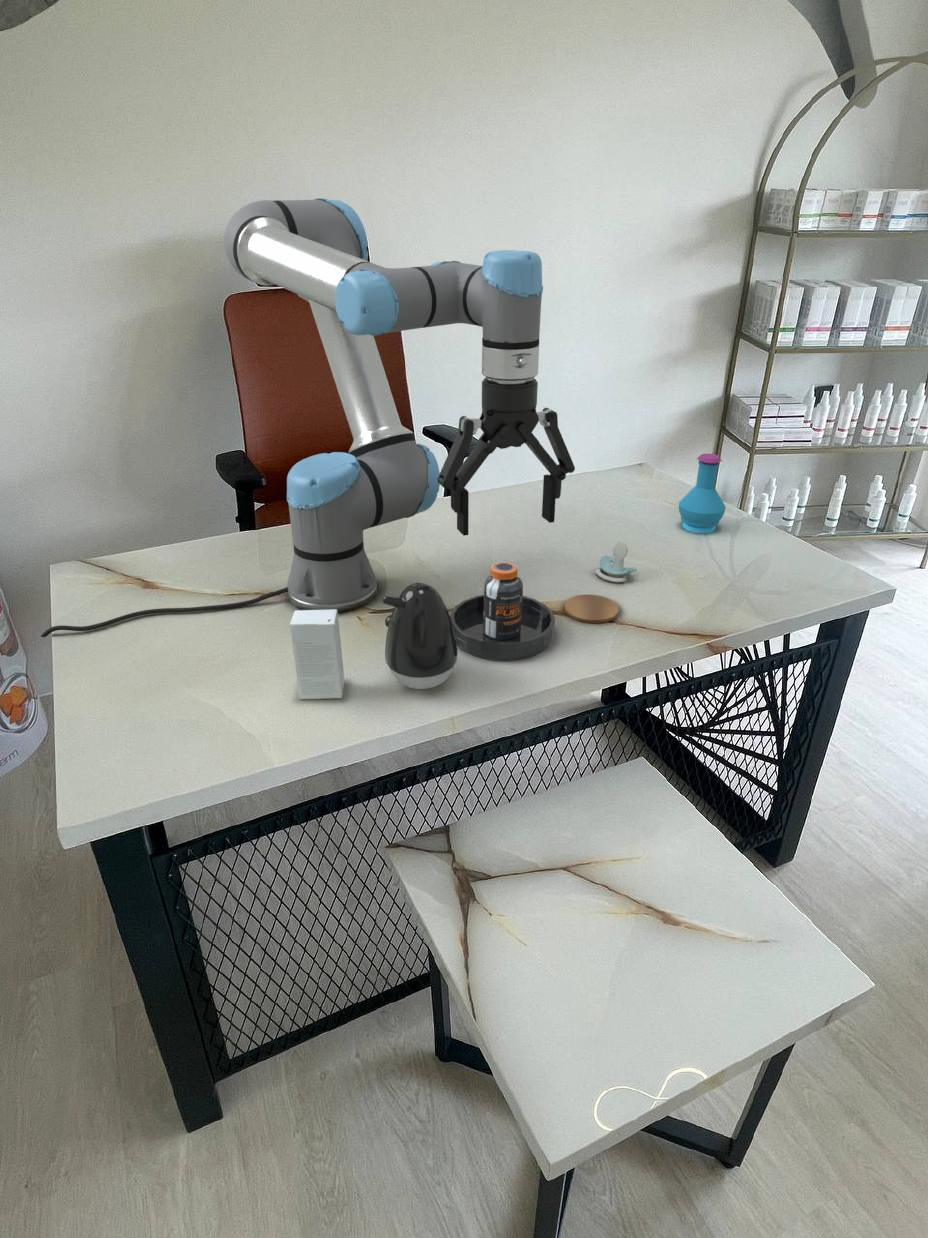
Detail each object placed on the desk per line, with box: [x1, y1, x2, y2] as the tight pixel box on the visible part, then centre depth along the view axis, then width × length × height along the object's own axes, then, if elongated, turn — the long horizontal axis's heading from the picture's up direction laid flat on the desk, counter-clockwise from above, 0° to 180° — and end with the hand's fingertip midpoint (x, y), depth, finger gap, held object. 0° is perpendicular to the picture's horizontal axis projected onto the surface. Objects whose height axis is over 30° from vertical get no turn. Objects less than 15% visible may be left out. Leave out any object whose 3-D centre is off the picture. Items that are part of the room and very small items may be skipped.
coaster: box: [563, 594, 620, 624], centre depth 134 cm, size 9×9×1 cm
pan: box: [449, 594, 556, 662], centre depth 126 cm, size 16×16×3 cm
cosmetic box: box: [289, 609, 345, 700], centre depth 110 cm, size 6×4×12 cm
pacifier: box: [594, 541, 638, 583], centre depth 143 cm, size 7×6×6 cm
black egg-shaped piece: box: [381, 582, 458, 690], centre depth 112 cm, size 10×10×15 cm
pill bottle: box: [483, 561, 524, 640], centre depth 124 cm, size 6×6×11 cm
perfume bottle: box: [678, 453, 726, 534], centre depth 161 cm, size 9×9×15 cm
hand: (506, 525), depth 118 cm, fingers open, 13 cm apart
